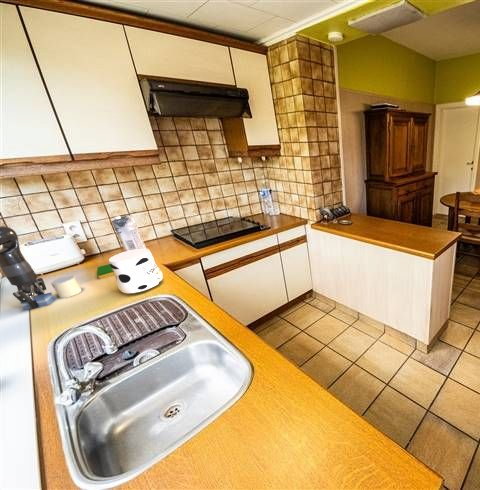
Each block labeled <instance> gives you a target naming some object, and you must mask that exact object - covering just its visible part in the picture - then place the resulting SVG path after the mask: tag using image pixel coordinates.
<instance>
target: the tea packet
mask: <svg viewBox="0 0 480 490" xmlns="http://www.w3.org/2000/svg"><path fill="white" fill-rule="evenodd" d="M28 297H29V298H30V296H28ZM34 299H35V300H36V302H37V303H38V305H39V307H38V308H40V307H46V306H49V305H51V304H52V303H53V302H55V300H56V298H55V297H54V295H53V293H52V292H46V293H44V294H41V295H38V294H35V295H34ZM20 306H21V307H22V308H23V309H24V310H25V311H26V310H30V309H32V308H31V307H30V305H29V304H28V302H25V303H21V302H20Z"/></svg>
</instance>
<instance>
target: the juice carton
mask: <svg viewBox="0 0 480 490" xmlns="http://www.w3.org/2000/svg"><path fill="white" fill-rule="evenodd" d="M111 225H112V226H113V229H114V231H115V233H116V235H117V238H118V239H119V242H120V244H121V246H122V247H123V250H124V252H125V251H128V250H133V249H140V248H146V249H147V246H146V244H145V241H144V239H143V237H142V234H141V232H140V229H139V227H138V225H137V222H136V220H135V219H134V217H133V215H123V216H121V215H116V216H114V217H113V220H111Z"/></svg>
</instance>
